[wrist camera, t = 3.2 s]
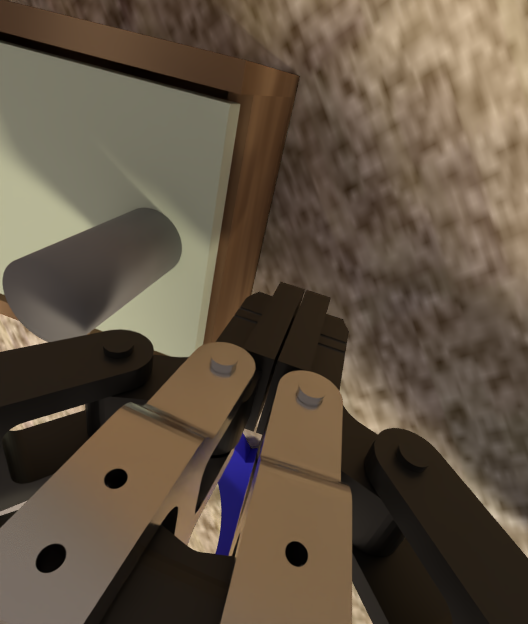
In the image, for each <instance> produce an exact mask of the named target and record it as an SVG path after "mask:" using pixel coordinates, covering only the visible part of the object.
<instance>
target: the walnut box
mask: <svg viewBox="0 0 528 624" xmlns="http://www.w3.org/2000/svg"><path fill="white" fill-rule="evenodd" d="M0 40H2V41H6V42H10V43H13V44H17V45H21V46H25V47H28V48H32V49H36V50H40V51H43V52H47V53H51V54H55V55H58V56H62V57H66V58H70V59H74V60H77V61H81V62H85V63H89V64H92V65H96V66H100V67H104V68H107V69H111V70H115V71H119V72H122V73H126V74H130V75H134V76H137V77H141V78H145V79H149V80H153V81H156V82H160V83H164V84H168V85H171V86H175V87H179V88H183V89H186V90H190V91H194V92H198V93H201V94H205V95H209V96H213V97H216V98H220V99H224V100H228V101H231V102H235V103H239V104H240V111H239V117H238V123H237V130H236V136H235V143H234V149H233V155H232V162H231V168H230V175H229V181H228V187H227V194H226V200H225V207H224V213H223V219H222V226H221V232H220V239H219V245H218V252H217V258H216V264H215V271H214V277H213V284H212V290H211V296H210V303H209V309H208V316H207V322H206V328H205V335H204V341H203V345H204V344H207V343H212V342H216V340H217V339H218V338H219V336H220V335H221V333H222V332H223V330H224V329H225V328H226V326H227V325H228V323H229V322H230V320H231V319H232V318H233V316H234V315H235V313H236V312H237V310H238V309H240V306H241V305H242V303H243V302H244V300H245V299H246V298H247V297H249V296H251V293H252V288H253V284H254V279H255V275H256V270H257V266H258V261H259V257H260V252H261V248H262V243H263V239H264V234H265V230H266V225H267V221H268V216H269V212H270V207H271V203H272V198H273V194H274V189H275V185H276V180H277V176H278V171H279V167H280V162H281V158H282V153H283V149H284V145H285V140H286V136H287V131H288V127H289V122H290V118H291V113H292V109H293V104H294V100H295V95H296V91H297V86H298V82H299V77H300V76H297V75H294V74H290V73H287V72H284V71H280V70H277V69H274V68H270V67H267V66H264V65H260V64H257V63H254V62H250V61H247V60H243V59H239V58H235V57H231V56H227V55H223V54H219V53H215V52H211V51H207V50H203V49H199V48H195V47H191V46H187V45H183V44H179V43H175V42H171V41H167V40H163V39H159V38H155V37H151V36H147V35H143V34H139V33H135V32H131V31H127V30H123V29H119V28H115V27H111V26H107V25H103V24H99V23H95V22H91V21H87V20H83V19H79V18H75V17H71V16H66V15H62V14H58V13H54V12H50V11H46V10H42V9H38V8H34V7H30V6H26V5H22V4H18V3H14V2H10V1H6V0H0ZM0 314H3V315H5V316H8V317H11V318H13V319H16V320H18V318H17V317H16V316H15V314H14V313H13V312H12V310H11V308H10V306H9V305H8V302H7V300H6V298H5V295H3V294H1V293H0ZM98 332H103V331H101V330H98V329H93V330H92V331H91V332H90V333H88V334H93V333H98ZM88 334H87V335H88ZM153 354H154V355H163V356H168V355H166V354H163V353H160V352H157V351H155V350H154V353H153Z"/></svg>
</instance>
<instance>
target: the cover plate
mask: <svg viewBox="0 0 528 624" xmlns="http://www.w3.org/2000/svg"><path fill="white" fill-rule="evenodd" d="M239 111H240V104H239V103H235V102H231V101H228V100H224V99H220V98H216V97H213V96H209V95H205V94H201V93H198V92H194V91H190V90H186V89H183V88H179V87H175V86H171V85H168V84H164V83H160V82H156V81H153V80H149V79H145V78H141V77H137V76H134V75H130V74H126V73H122V72H119V71H115V70H111V69H107V68H104V67H100V66H96V65H92V64H89V63H85V62H81V61H77V60H74V59H70V58H66V57H62V56H58V55H55V54H51V53H47V52H43V51H40V50H36V49H32V48H28V47H25V46H21V45H17V44H13V43H10V42H6V41H2V40H0V293H1V294H3V295H5V298H6V300H7V302H8V305H9V306H10V308H11V310H12V312H13V313H14V314H15V316H16V317H17V318H18V320H19V321H20V322H21V323H22V324H23V325H24V326H25V327H26V328H27V329H28V330H29V331H31V332H32V333H33V334H35V335H36V336H38V337H39V338H41V339H43V340H45V341H47V342H53V341H58V340H63V339H68V338H73V337H78V336H83V335H87V334H88V333H90V332H91V331H92V330H93V329H98V330H101V331H108V330H117V329H122V330H131V331H135V332H138V333H140V334H142V335H144V336H146V337H147V338H148V339H149V340H150V341H151V343H152V345H153V348H154V350H155V351H157V352H160V353H163V354H166V355H168V356H172V357H190V355H191V354H192V353H193V352H194V351H195V350H196V349H197V348H199V347H200V346H202V345H203V341H204V335H205V328H206V322H207V316H208V309H209V303H210V296H211V290H212V284H213V277H214V271H215V264H216V258H217V252H218V245H219V239H220V232H221V226H222V219H223V213H224V207H225V200H226V194H227V187H228V181H229V175H230V168H231V162H232V155H233V149H234V143H235V136H236V130H237V123H238V117H239Z"/></svg>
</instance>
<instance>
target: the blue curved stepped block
mask: <svg viewBox="0 0 528 624" xmlns="http://www.w3.org/2000/svg"><path fill="white" fill-rule="evenodd" d="M257 451H258V448H253V449H251V447H250V445H249V444H248V442H247V440H246V438H245V436H244V434H243V433H242V436H241V438H240V440H239V442H238V444H237V445H236V447H235V449H234V453H233V455H232V457H231V459H230V461H229V463H228V465H227V466H226V468H225V470H224V472H223V474H222V476H221V478H220V480H219V481H218V485H219V490H220V496H221V510H222V512H221V529H220V536H219V542H218V546H217V550H216V554H219V555H227V556H229V552H230V549H231V545H232V542H233V538H234V534H235V531H236V527H237V523H238V519H239V516H240V512H241V508H242V504H243V501H244V497H245V493H246V489H247V486H248V482H249V478H250V474H251V470H252V467H253V463H254V460H255V457H256V454H257Z"/></svg>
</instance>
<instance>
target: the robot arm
mask: <svg viewBox="0 0 528 624" xmlns="http://www.w3.org/2000/svg"><path fill="white" fill-rule="evenodd" d="M304 290H305V289H302V288H299V287H296V286H293V285H290V284H287V283H283V282H281V283H280V284H279V286H278V288H277V289H276V291H275V293H274V295H273V296H270V295H267V294H264V293H261V292H257V293H255V294H253V295H251V296H249V297H247V298H246V299H245V300H244V302H243V303H242V305H241V306H240V309H238V310H237V312H236V313H235V315H234V316H233V318H232V319H231V320H230V322H229V323H228V325H227V326H226V328H225V329H224V330H223V332H222V333H221V335H220V336H219V338H218V339H217V340H216V342H212V343H207V344H204V345H202V346H200V347H199V348H197V349H196V350H195V351H194V352H193V353H192V354H191V355H190V357H172V356H163V355H154V354H153V353H154V348H153V345H152V343H151V341H150V340H149V339H148V338H147V337H146V336H144V335H142V334H140V333H138V332H135V331H131V330H122V329H117V330H108V331H103V332H98V333H93V334H88V335H83V336H78V337H73V338H68V339H63V340H58V341H53V342H48V343H43V344H38V345H33V346H28V347H23V348H18V349H13V350H8V351H3V352H0V511H2V510H5V509H7V508H10V507H12V506H15V505H17V504H20V503H22V502H25V501H27V500H28V501H27V502H26V503H25V504H24V505H23V506H22V507H21V508H20V509H19V510H17V511H14V512H11V513H8V514H4V515H2V516H0V624H352V582H353V584H354V586H355V588H356V590H357V592H358V594H359V596H360V598H361V600H362V602H363V604H364V606H365V608H366V610H367V613H368V615H369V617H370V619H371V621H372V623H373V624H528V558H527V557H526V555H525V554H524V553H523V552H522V551H521V549H520V548H519V547H518V546H517V545H516V544H515V542H514V541H513V540H512V539H511V538H510V536H509V535H508V534H507V533H506V532H505V530H504V529H503V528H502V527H501V526H500V525H499V523H498V522H497V521H496V520H495V519H494V517H493V516H492V515H491V514H490V513H489V511H488V510H487V509H486V508H485V507H484V506H483V504H482V503H481V502H480V501H479V500H478V498H477V497H476V496H475V495H474V494H473V492H472V491H471V490H470V489H469V488H468V487H467V485H466V484H465V483H464V482H463V481H462V479H461V478H460V477H459V476H458V475H457V473H456V472H455V471H454V470H453V469H452V467H451V466H450V465H449V464H448V463H447V462H446V460H445V459H444V458H443V457H442V456H441V454H440V453H439V452H438V451H437V450H436V449H435V448H434V447H433V446H432V445H431V444H430V443H429V442H428V441H426V440H425V439H424V438H422V437H420V436H419V435H417V434H415V433H413V432H410V431H407V430H404V429H399V428H390V429H386V430H383V431H382V432H380V433H379V434H378V435H377V434H376V433H374V432H373V431H371V430H370V429H368V428H367V427H365V426H364V425H362V424H361V423H359V422H358V421H357V420H355V419H354V418H353V417H352V416H351V415H350V414H349V413H348V412H347V410H346V409H345V407H344V406H343V399H342V396H341V394H340V392H339V390H340V383H341V377H342V370H343V364H344V358H345V351H346V344H347V338H348V332H349V331H348V329H347V327H346V325H345V323H344V321H343V319H340V318H337V317H334V316H331V315H328V314H326V312H327V309H328V305H329V302H330V297H327V296H324V295H321V294H318V293H315V292H312V291H308V290H306V293H305V295H304V298H303V294H304ZM302 298H303V300H302ZM301 301H302V302H301ZM300 304H301V305H300ZM84 404H85V410H84V411H81V412H78V413H74V414H71V415H68V416H65V417H61V418H58V419H55V420H52V421H49V422H45V423H42V424H39V425H36V426H32V427H29V428H26V429H23V430H18V431H9V430H10V429H11V428H13V427H15V426H16V425H19V424H21V423H24V422H27V421H30V420H34V419H37V418H40V417H44V416H47V415H50V414H54V413H57V412H60V411H64V410H67V409H70V408H74V407H77V406H80V405H84ZM263 406H264V408H263ZM262 409H263V411H262ZM261 411H262V414H261ZM260 414H261V418H260V421H259V424H258V428H257V431H256V433H259V434H262V438H261V441H260V444H259V447H258V451H257V454H256V457H255V460H254V463H253V467H252V470H251V474H250V478H249V482H248V486H247V489H246V493H245V497H244V501H243V504H242V508H241V512H240V516H239V519H238V523H237V527H236V531H235V534H234V538H233V542H232V545H231V549H230V552H229V556H227V555H219V554H210V553H202V552H197V551H195V550H192V549H191V548H189V547H188V546H187V545H188V542H189V539H190V537H191V534H192V532H193V529H194V527H195V525H196V523H197V521H198V519H199V517H200V515H201V513H202V511H203V509H204V508H205V506H206V504H207V502H208V500H209V498H210V496H211V494H212V493H213V491H214V489H215V487H216V485H217V483H218V481H219V480H220V478H221V476H222V474H223V472H224V470H225V468H226V466H227V465H228V463H229V461H230V459H231V457H232V455H233V453H234V449H235V447H236V445H237V444H238V442H239V440H240V438H241V436H242V433H243V431H244V429H248V430H251V431H253V432H254V429H255V426H256V424H257V421H258V419H259V416H260Z"/></svg>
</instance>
